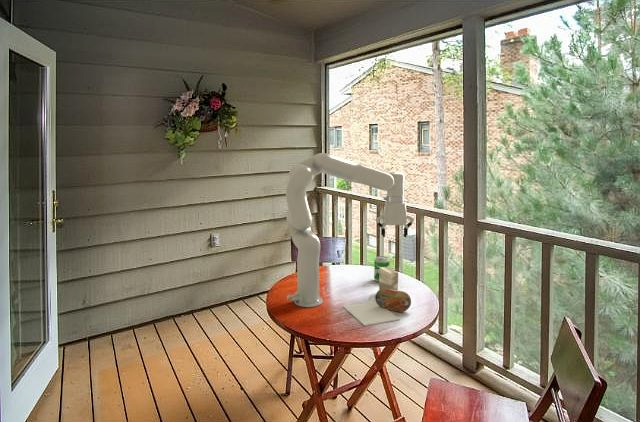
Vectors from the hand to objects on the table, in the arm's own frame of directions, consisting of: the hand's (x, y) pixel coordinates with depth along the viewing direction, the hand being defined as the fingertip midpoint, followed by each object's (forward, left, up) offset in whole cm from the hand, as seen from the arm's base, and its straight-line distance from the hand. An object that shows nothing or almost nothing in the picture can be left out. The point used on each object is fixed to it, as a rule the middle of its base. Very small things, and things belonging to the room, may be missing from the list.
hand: (394, 236), depth 200 cm
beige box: (-4, -2, -27) cm, 27 cm away
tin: (-11, -18, -27) cm, 34 cm away
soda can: (+3, +17, -27) cm, 32 cm away
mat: (-21, -18, -27) cm, 38 cm away
